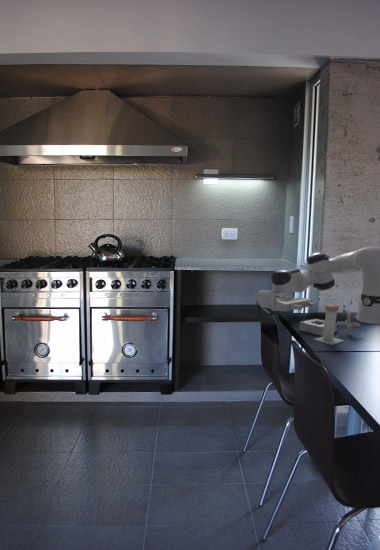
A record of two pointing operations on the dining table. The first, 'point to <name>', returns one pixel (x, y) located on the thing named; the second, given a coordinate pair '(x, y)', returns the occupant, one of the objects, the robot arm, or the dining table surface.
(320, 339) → the rubber mat
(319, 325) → the housing block
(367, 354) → the dining table surface
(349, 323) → the pipe connector
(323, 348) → the dining table surface
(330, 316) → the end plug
